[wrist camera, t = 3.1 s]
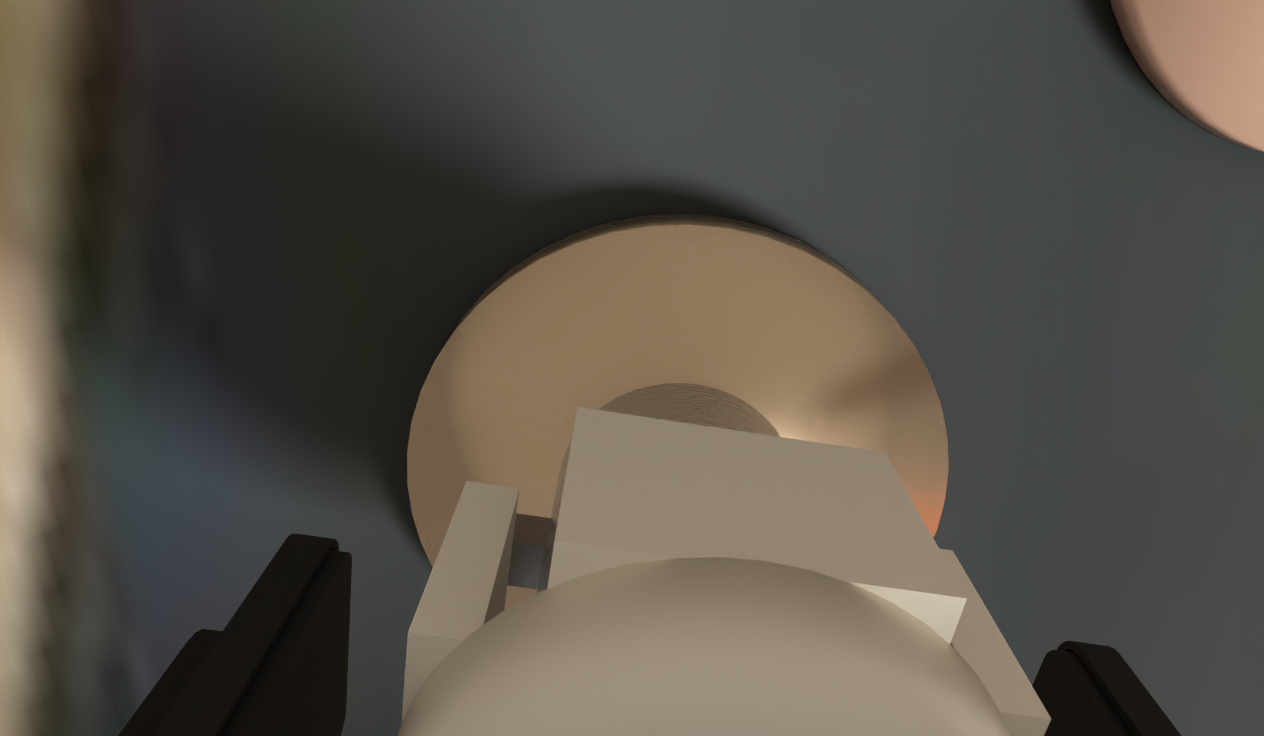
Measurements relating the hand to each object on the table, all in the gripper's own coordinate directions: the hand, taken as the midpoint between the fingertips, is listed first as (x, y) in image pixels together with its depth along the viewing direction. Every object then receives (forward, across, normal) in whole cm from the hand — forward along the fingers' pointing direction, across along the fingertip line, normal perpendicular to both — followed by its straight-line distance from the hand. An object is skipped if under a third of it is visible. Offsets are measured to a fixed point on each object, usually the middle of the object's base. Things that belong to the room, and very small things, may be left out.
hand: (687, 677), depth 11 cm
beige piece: (+6, 0, 0) cm, 6 cm away
